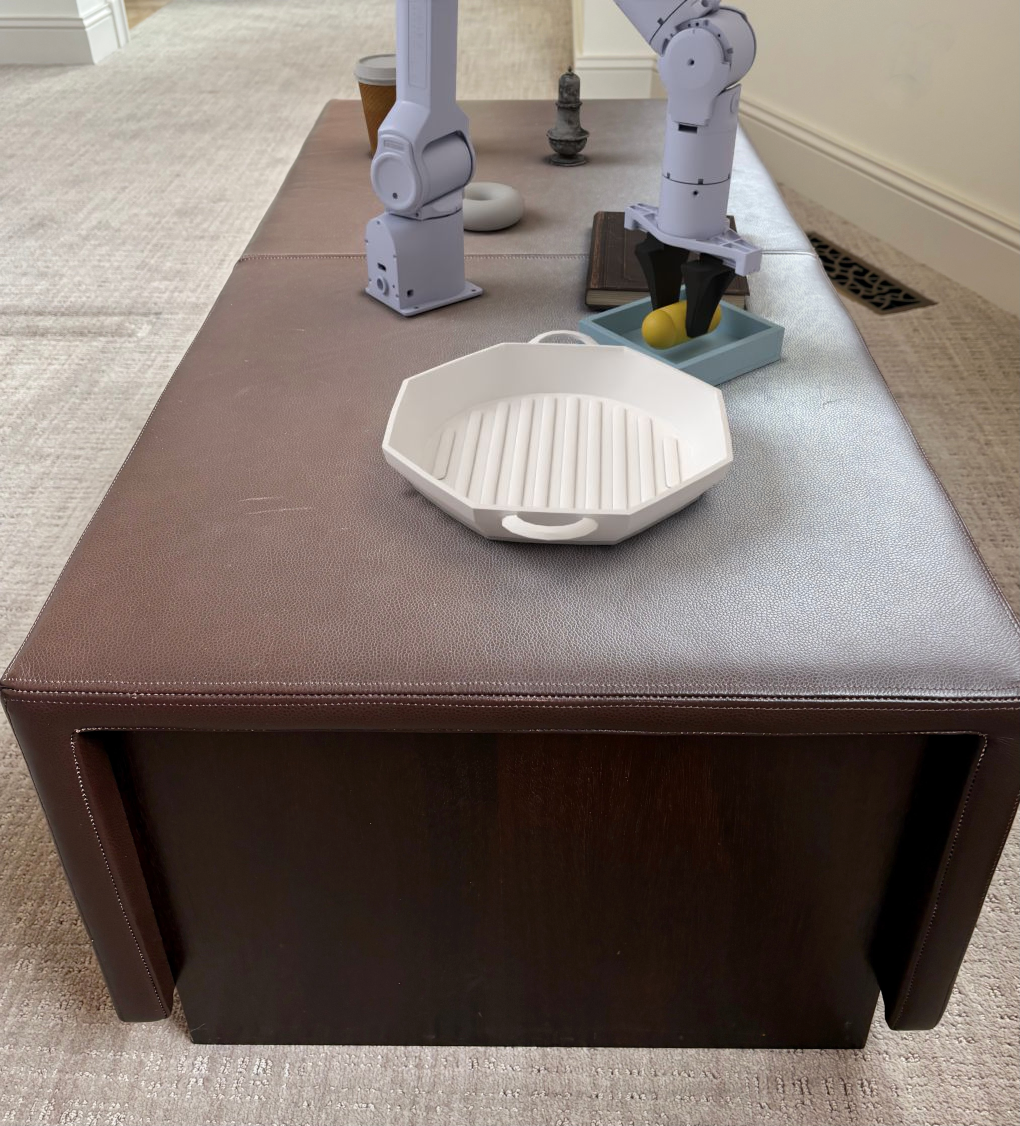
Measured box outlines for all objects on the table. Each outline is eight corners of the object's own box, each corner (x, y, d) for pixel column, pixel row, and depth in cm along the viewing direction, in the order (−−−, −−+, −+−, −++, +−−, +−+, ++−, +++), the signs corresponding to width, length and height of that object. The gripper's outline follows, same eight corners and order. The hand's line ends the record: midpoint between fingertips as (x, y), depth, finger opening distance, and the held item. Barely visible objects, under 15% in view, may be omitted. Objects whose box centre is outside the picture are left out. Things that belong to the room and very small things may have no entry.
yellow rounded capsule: (659, 360, 94) (663, 322, 92) (632, 346, 96) (634, 309, 94) (727, 334, 98) (732, 297, 96) (699, 321, 101) (703, 285, 98)
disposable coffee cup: (350, 149, 150) (342, 57, 143) (412, 140, 153) (407, 49, 146) (376, 168, 143) (368, 72, 136) (440, 157, 147) (436, 63, 139)
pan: (422, 369, 96) (419, 323, 93) (707, 378, 95) (712, 332, 92) (357, 580, 71) (351, 527, 69) (741, 597, 70) (750, 543, 67)
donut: (521, 237, 123) (528, 206, 131) (521, 208, 121) (528, 178, 128) (435, 234, 124) (447, 204, 131) (433, 205, 121) (446, 176, 129)
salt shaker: (538, 157, 147) (539, 63, 140) (576, 151, 149) (579, 58, 142) (557, 169, 143) (560, 72, 135) (596, 163, 145) (600, 68, 137)
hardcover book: (731, 235, 123) (733, 215, 122) (746, 315, 105) (750, 292, 103) (592, 230, 124) (593, 210, 123) (583, 309, 106) (584, 286, 104)
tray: (672, 403, 91) (676, 370, 89) (577, 351, 99) (578, 320, 97) (780, 359, 97) (785, 327, 96) (682, 313, 105) (685, 284, 104)
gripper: (796, 186, 86) (771, 342, 94) (669, 145, 95) (657, 290, 103) (735, 204, 82) (715, 364, 90) (610, 160, 91) (602, 309, 100)
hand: (680, 326), depth 96 cm, fingers closed on yellow rounded capsule, 3 cm apart
